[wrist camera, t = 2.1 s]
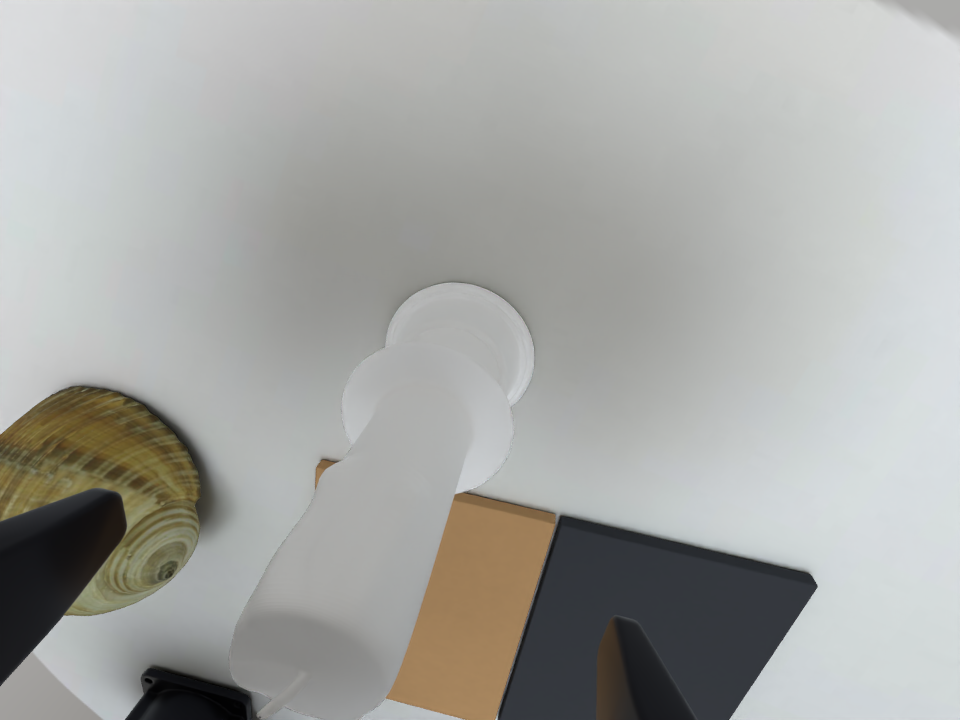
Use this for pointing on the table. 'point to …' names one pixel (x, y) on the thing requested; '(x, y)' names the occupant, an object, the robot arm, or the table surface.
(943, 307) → the table surface
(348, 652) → the candle
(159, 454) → the seashell
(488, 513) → the sorting mat
